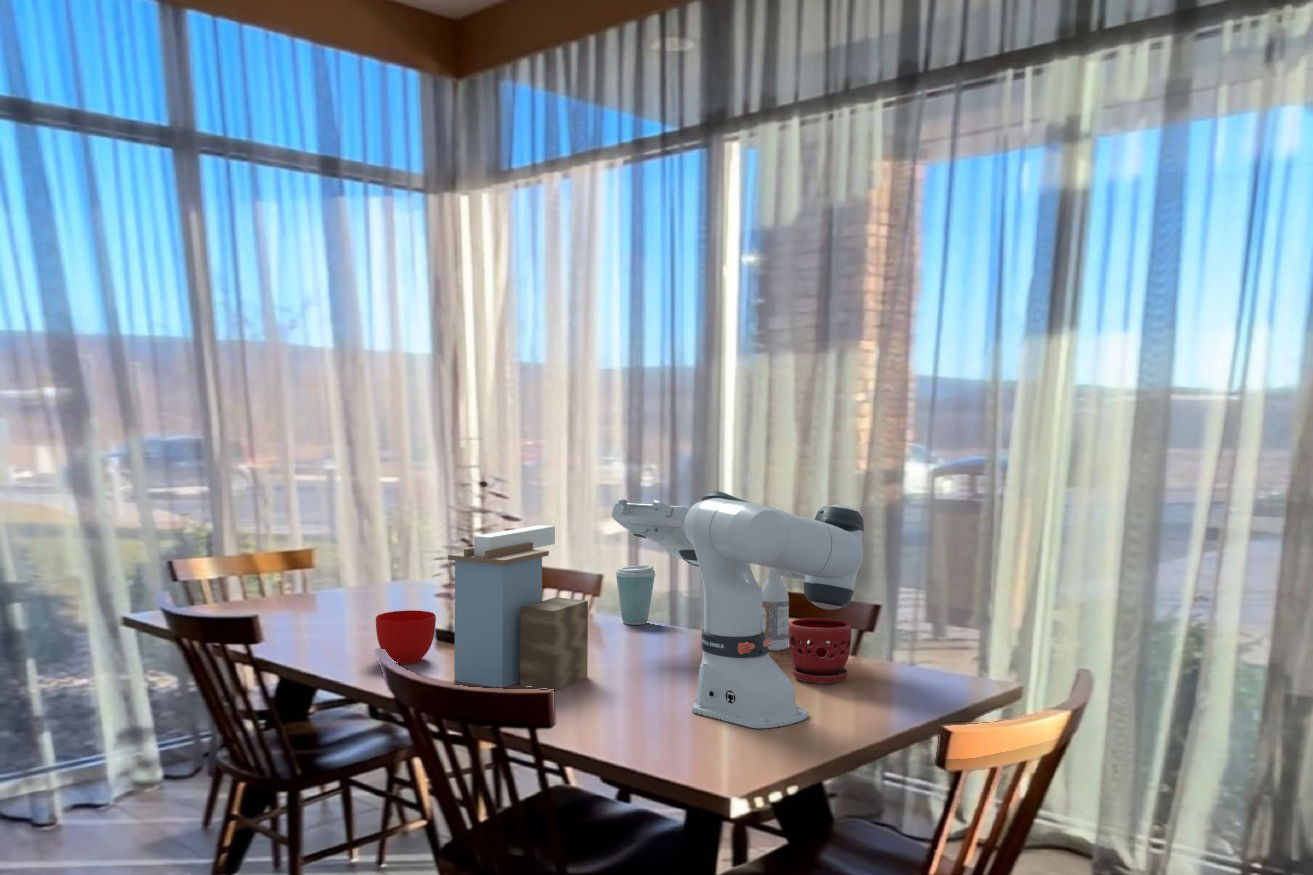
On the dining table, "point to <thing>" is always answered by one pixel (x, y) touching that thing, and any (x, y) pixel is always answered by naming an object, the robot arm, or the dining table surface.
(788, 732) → the dining table surface
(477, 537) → the white beam
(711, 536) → the robot arm
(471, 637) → the cabinet
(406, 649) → the ceramic cup
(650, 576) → the disposable coffee cup
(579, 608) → the walnut block
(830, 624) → the plant pot
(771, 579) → the bath foam
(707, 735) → the dining table surface
